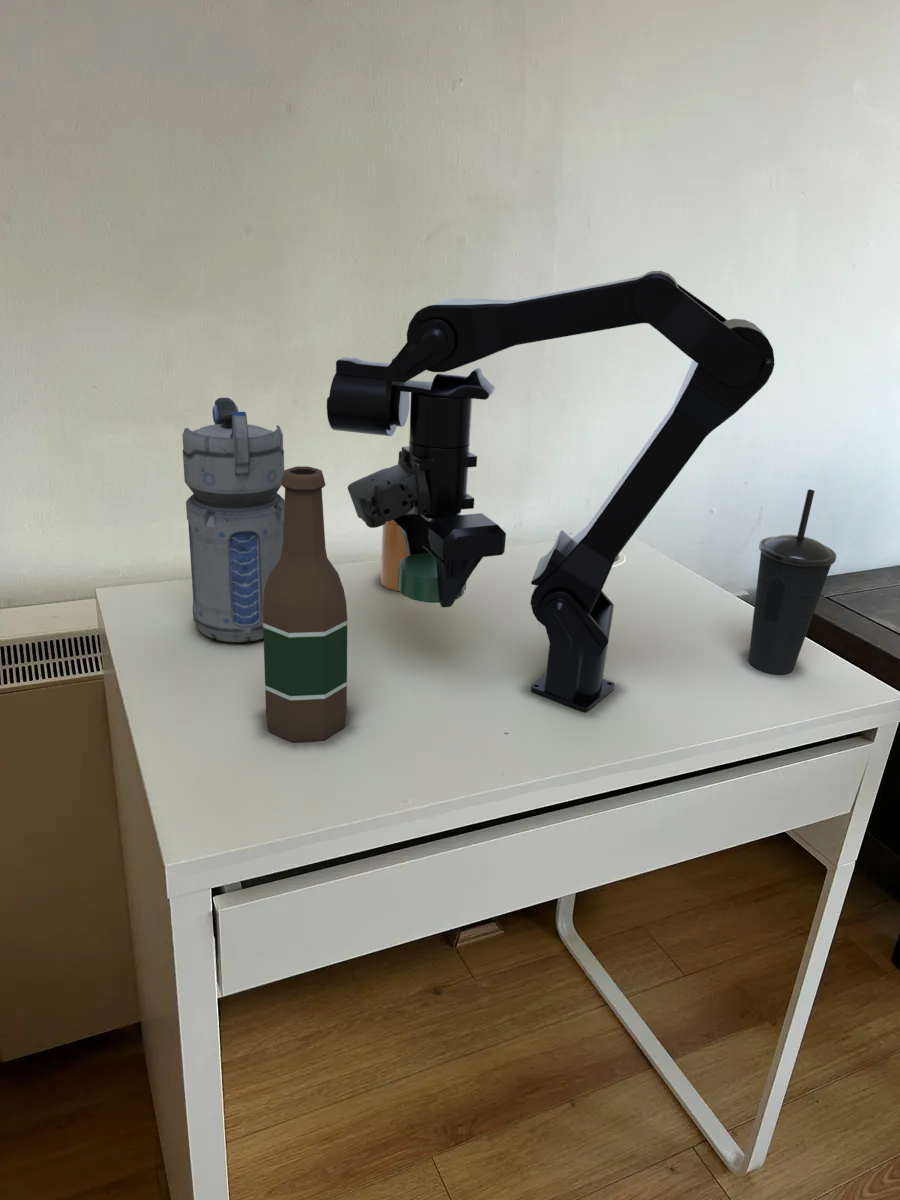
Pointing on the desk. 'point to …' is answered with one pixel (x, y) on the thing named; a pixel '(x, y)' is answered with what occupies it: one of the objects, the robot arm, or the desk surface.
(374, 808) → the desk surface
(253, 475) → the beverage bottle
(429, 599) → the lid
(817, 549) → the drinking cup
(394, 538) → the jar
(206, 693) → the desk surface
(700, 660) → the desk surface
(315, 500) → the beer bottle
